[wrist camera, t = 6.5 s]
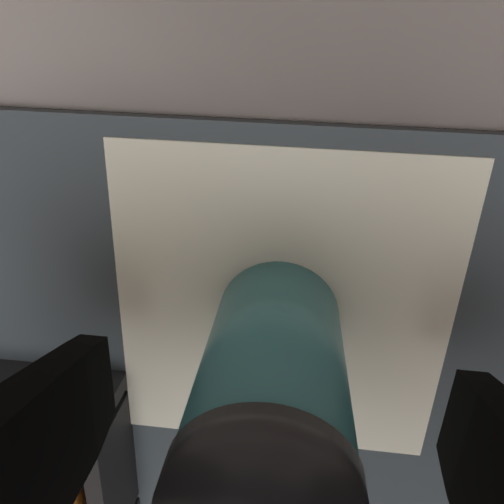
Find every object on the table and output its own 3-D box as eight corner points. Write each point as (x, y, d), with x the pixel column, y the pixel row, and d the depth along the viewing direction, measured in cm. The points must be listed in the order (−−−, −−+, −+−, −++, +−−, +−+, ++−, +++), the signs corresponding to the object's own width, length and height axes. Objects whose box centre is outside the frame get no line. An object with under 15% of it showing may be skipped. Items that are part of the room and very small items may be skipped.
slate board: (697, 141, 10) (844, 173, 7) (524, 548, 16) (570, 652, 13) (-129, 99, 12) (-262, 113, 9) (-18, 481, 17) (-78, 561, 15)
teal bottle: (347, 265, 11) (390, 458, 6) (333, 370, 13) (356, 607, 7) (218, 254, 12) (145, 430, 6) (217, 359, 13) (156, 579, 8)
